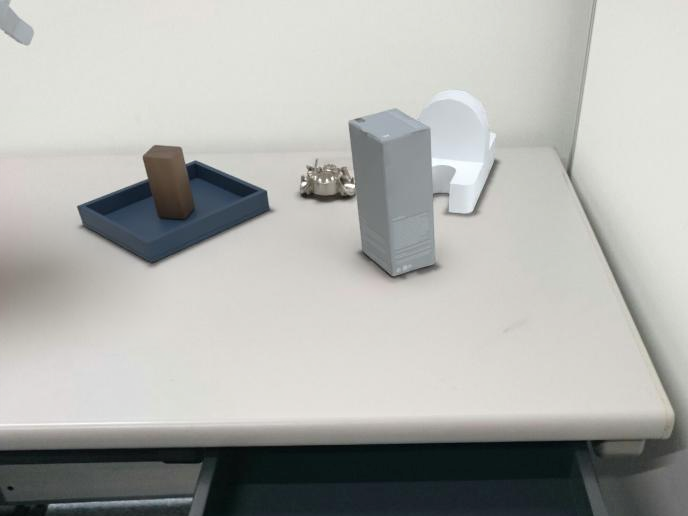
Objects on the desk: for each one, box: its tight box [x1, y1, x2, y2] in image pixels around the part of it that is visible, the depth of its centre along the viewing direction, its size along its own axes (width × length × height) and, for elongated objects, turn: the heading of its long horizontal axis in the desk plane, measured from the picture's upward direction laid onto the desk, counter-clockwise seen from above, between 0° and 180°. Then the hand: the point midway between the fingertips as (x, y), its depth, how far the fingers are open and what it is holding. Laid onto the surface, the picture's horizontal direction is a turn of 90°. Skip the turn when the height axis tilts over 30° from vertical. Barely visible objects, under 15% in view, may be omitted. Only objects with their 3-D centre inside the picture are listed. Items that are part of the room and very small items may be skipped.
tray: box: [76, 159, 271, 264], centre depth 98 cm, size 16×20×3 cm
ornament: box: [298, 163, 356, 197], centre depth 102 cm, size 8×7×4 cm
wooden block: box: [142, 144, 195, 220], centre depth 95 cm, size 4×4×8 cm
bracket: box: [416, 89, 497, 215], centre depth 102 cm, size 19×10×11 cm, turn 166°
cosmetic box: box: [348, 107, 436, 277], centre depth 85 cm, size 8×7×16 cm
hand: (4, 28), depth 73 cm, fingers open, 8 cm apart
